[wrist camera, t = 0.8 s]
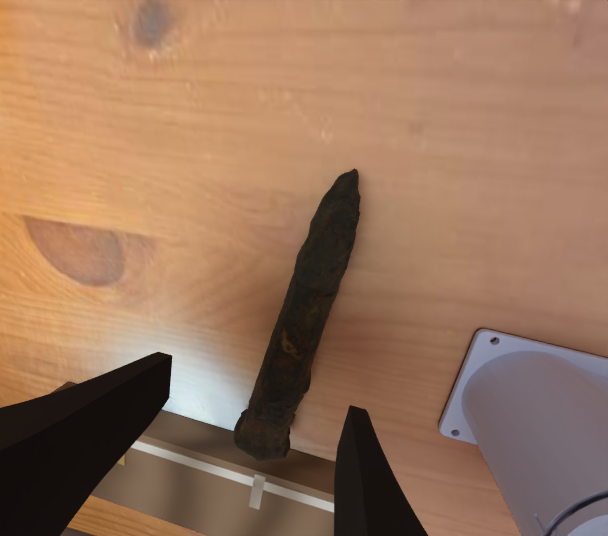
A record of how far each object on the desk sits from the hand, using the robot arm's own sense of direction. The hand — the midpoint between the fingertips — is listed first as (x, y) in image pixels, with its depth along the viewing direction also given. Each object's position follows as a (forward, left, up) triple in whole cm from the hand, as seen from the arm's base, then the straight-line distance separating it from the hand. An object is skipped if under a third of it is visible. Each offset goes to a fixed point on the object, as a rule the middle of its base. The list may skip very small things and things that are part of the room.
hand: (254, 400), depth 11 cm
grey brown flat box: (+5, +16, -9) cm, 19 cm away
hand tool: (0, 0, -9) cm, 9 cm away
